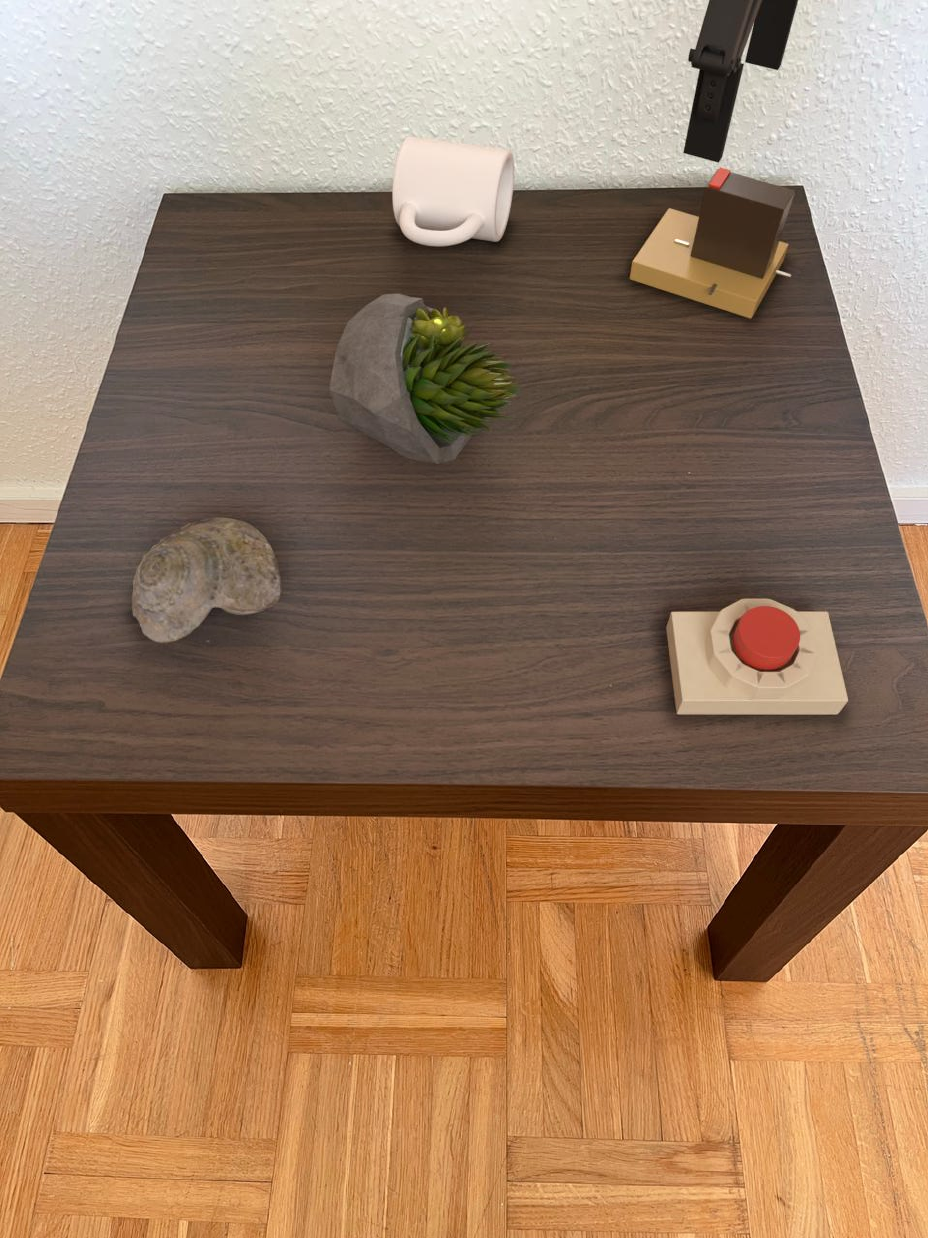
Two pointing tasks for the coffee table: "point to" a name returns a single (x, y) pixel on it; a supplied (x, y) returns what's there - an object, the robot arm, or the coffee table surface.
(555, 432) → the coffee table surface
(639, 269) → the plate
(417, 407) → the potted plant
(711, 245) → the lock turn
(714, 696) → the beige button housing
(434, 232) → the mug
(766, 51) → the robot arm
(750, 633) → the bell button
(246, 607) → the fossilized seashell
